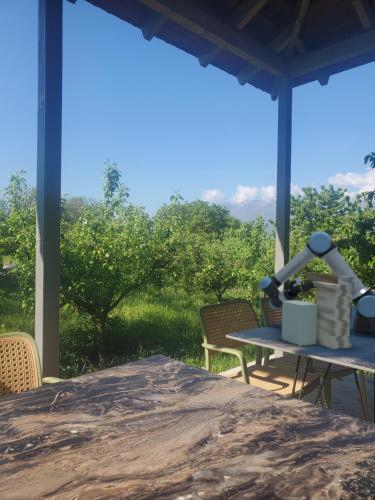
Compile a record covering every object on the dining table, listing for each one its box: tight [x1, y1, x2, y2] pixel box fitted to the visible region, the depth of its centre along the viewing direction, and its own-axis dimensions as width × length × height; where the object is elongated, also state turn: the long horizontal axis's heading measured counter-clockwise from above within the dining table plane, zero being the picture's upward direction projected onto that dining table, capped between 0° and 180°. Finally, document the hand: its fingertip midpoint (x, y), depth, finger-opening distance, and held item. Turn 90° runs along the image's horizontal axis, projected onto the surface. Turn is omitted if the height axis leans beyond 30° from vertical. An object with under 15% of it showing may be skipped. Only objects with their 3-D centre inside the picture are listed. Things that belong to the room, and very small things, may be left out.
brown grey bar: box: [306, 271, 355, 286], centre depth 195 cm, size 4×28×4 cm, turn 24°
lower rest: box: [281, 299, 317, 347], centre depth 197 cm, size 10×14×20 cm
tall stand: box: [314, 282, 354, 350], centre depth 192 cm, size 12×14×30 cm
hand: (311, 278), depth 206 cm, fingers open, 13 cm apart
